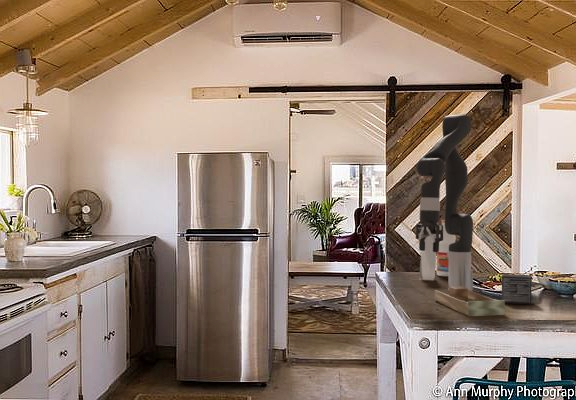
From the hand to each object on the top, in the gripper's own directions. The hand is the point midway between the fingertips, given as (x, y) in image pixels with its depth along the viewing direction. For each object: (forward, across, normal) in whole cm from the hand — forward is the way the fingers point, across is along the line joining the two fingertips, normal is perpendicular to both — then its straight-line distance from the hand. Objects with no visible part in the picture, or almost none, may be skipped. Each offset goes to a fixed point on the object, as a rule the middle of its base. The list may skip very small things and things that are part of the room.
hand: (428, 251), depth 218 cm
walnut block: (+18, -10, -7) cm, 21 cm away
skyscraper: (+17, +46, -34) cm, 60 cm away
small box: (+19, -12, -33) cm, 40 cm away
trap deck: (+20, -12, -9) cm, 25 cm away
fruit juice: (+16, +52, -50) cm, 74 cm away
